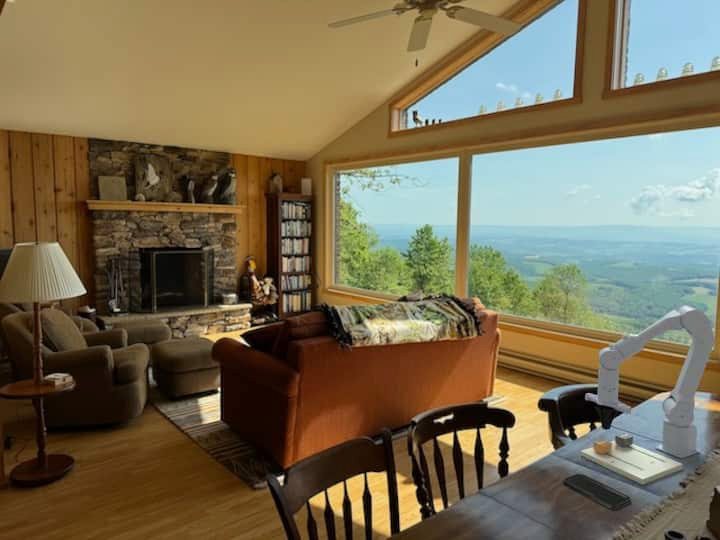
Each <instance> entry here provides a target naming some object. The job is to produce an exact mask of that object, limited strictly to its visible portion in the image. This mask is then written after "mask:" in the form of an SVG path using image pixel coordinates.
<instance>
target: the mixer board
mask: <svg viewBox="0 0 720 540" xmlns="http://www.w3.org/2000/svg"><path fill="white" fill-rule="evenodd" d="M609 442H610V443H612V449H611V451H610V452H607V453H604V454H601V453H599V452H597V451H594V450H593V448H594V446H592V447H589V448H585V449H583V450H580V457H582V456H583V458H584V457H585V459H587V460H588V461H589V460H590V461H591V460H592V461H591V462H593V461H594V463H595V462H596V464H597V465H600V466H601V465H602V467H603V468H606V469H608V470H610V471H612V472H615V473H616V474H618V475H620V476H624V477H625V478H628V479H629V480H632V481H634V482H635V483H639V484H640V485H645V484H648V483H650V482H652V481H656V480H658V479H660V478H664V477H666V476H669V475H671V474H673V473H675V472H676V473H677V472H678V471H681V470H683V463H680V461H679V462H678V461H676V460H673V459H670V458H668V457H666V456H664V455H661V454H658V453H656V452H654V451H651V450H649V449H646V448H644V447H641V446H638V445H636V444H634V443H633V444H632V445H629V446H626V447H623V446H621V445H618V444H616V443H615V439H614V440H611V441H609Z"/></svg>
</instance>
